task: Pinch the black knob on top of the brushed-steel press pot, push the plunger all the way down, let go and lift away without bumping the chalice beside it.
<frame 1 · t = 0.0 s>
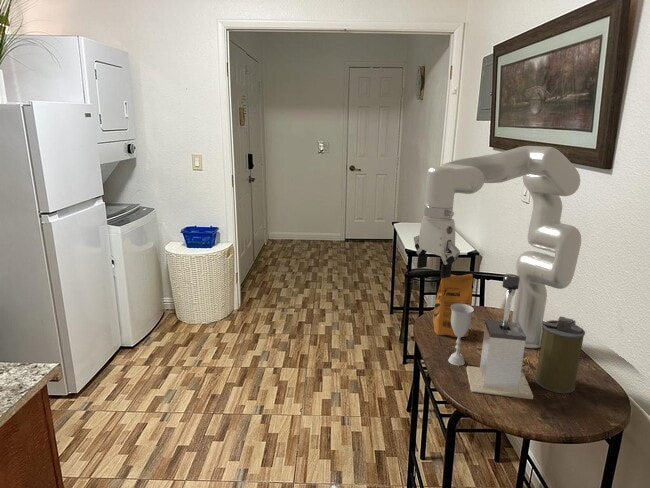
hand: (433, 272, 124), 31 cm above the table, tool pointing down, fingers open, 9 cm apart
canister: (553, 383, 127), on the table
chalice: (456, 361, 138), on the table
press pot: (497, 383, 126), on the table
plunger: (506, 313, 121), point 22 cm above the table, slide at 8.0 cm
coffee package: (450, 332, 159), on the table
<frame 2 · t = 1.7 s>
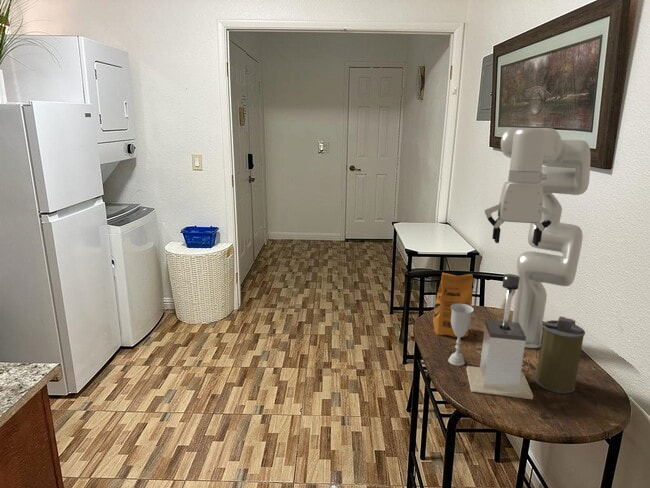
hand: (515, 243, 116), 42 cm above the table, tool pointing down, fingers open, 9 cm apart
nothing on the table moved.
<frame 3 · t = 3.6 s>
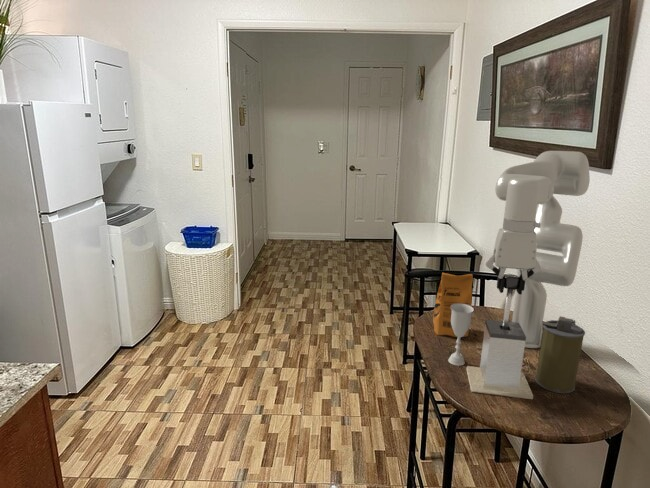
hand: (509, 291, 119), 28 cm above the table, tool pointing down, fingers closed on plunger, 4 cm apart
plunger: (506, 314, 121), point 22 cm above the table, slide at 8.0 cm, touching gripper
everything else where it was.
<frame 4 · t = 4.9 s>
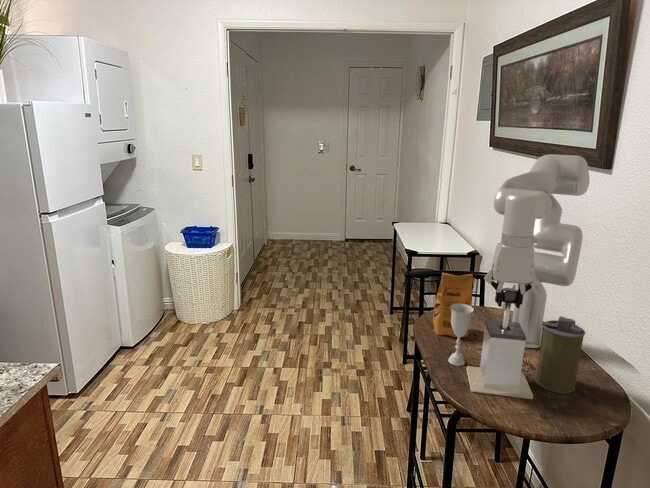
hand: (508, 304, 120), 24 cm above the table, tool pointing down, fingers closed on plunger, 4 cm apart
plunger: (505, 327, 122), point 18 cm above the table, slide at 4.0 cm, touching gripper
everything else where it was.
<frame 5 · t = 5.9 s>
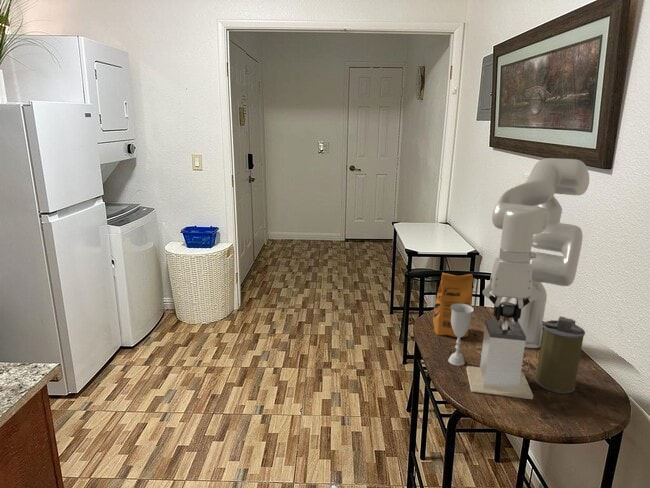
hand: (506, 318, 121), 20 cm above the table, tool pointing down, fingers closed on plunger, 4 cm apart
plunger: (503, 340, 123), point 13 cm above the table, slide at -0.1 cm, touching gripper
everything else where it was.
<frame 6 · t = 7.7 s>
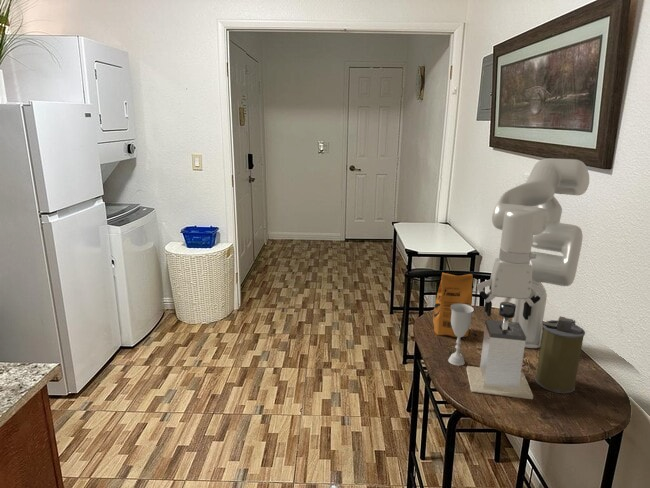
hand: (506, 316, 121), 21 cm above the table, tool pointing down, fingers open, 9 cm apart
plunger: (503, 340, 123), point 13 cm above the table, slide at -0.1 cm
everything else where it was.
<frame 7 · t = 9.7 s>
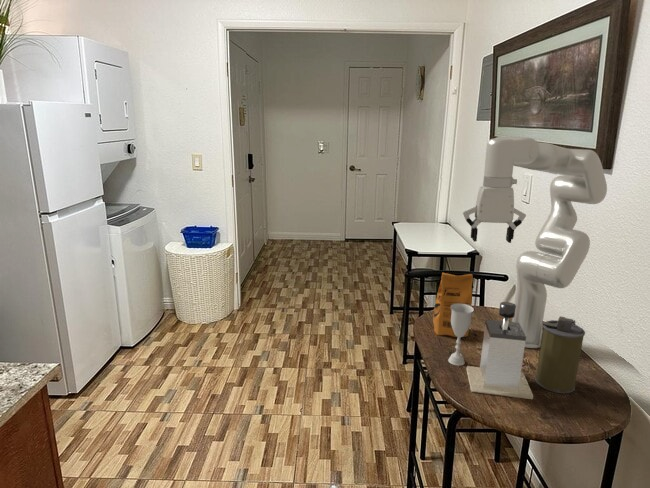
hand: (491, 241, 130), 39 cm above the table, tool pointing down, fingers open, 9 cm apart
nothing on the table moved.
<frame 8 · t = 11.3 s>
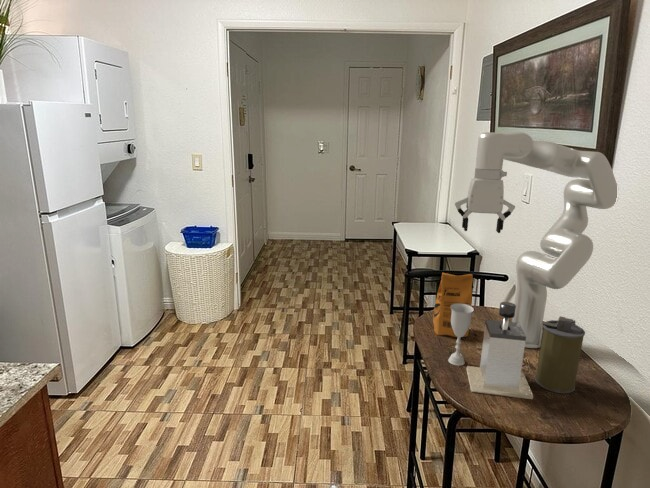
hand: (481, 231, 135), 40 cm above the table, tool pointing down, fingers open, 9 cm apart
nothing on the table moved.
at the end: plunger slide at -0.1 cm; the gripper is holding nothing; chalice moved 0.2 cm from its start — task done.
